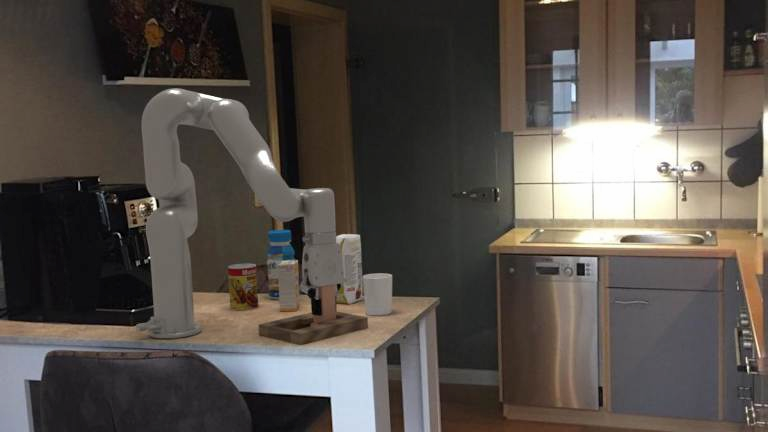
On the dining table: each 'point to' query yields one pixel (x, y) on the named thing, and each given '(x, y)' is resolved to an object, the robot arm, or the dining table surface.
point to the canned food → (243, 286)
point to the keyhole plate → (311, 327)
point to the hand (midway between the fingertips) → (324, 312)
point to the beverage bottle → (277, 257)
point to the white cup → (377, 293)
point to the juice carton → (350, 269)
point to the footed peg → (326, 305)
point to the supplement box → (288, 285)
